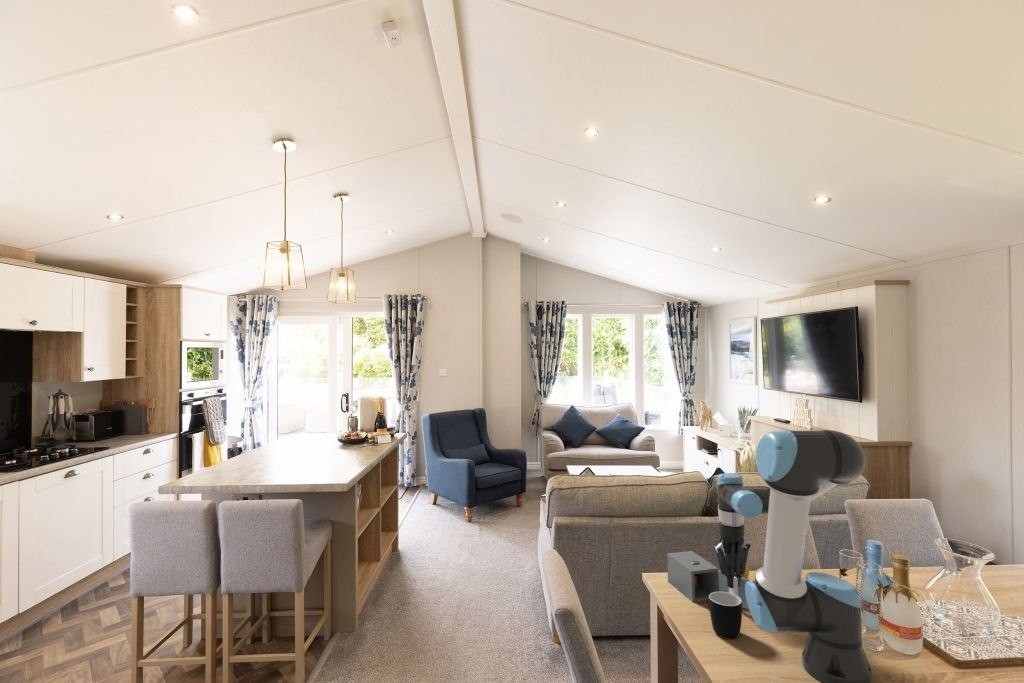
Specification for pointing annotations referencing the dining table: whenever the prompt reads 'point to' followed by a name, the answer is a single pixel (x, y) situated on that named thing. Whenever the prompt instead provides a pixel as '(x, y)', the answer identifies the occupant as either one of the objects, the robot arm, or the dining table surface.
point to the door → (741, 589)
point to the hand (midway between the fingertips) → (733, 597)
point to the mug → (725, 614)
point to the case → (692, 575)
